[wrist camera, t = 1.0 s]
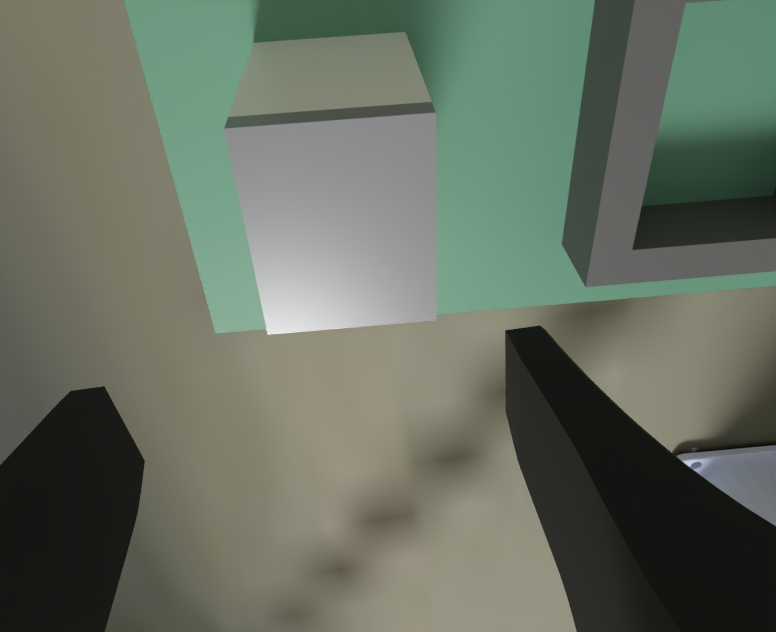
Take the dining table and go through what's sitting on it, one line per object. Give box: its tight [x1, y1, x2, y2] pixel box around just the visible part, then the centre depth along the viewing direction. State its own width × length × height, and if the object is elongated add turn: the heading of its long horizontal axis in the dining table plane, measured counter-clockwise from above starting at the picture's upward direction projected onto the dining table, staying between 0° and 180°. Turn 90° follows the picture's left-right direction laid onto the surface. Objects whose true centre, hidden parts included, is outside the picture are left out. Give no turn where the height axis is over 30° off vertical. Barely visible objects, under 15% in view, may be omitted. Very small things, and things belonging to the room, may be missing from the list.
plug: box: [224, 32, 437, 335], centre depth 16 cm, size 4×5×6 cm
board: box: [124, 0, 776, 333], centre depth 18 cm, size 22×14×4 cm, turn 93°
